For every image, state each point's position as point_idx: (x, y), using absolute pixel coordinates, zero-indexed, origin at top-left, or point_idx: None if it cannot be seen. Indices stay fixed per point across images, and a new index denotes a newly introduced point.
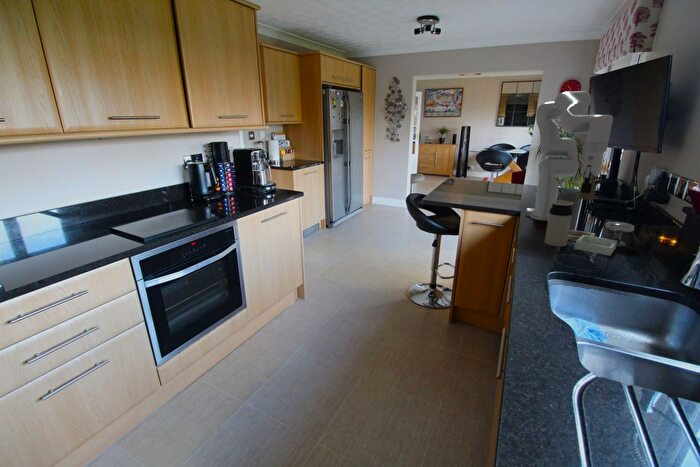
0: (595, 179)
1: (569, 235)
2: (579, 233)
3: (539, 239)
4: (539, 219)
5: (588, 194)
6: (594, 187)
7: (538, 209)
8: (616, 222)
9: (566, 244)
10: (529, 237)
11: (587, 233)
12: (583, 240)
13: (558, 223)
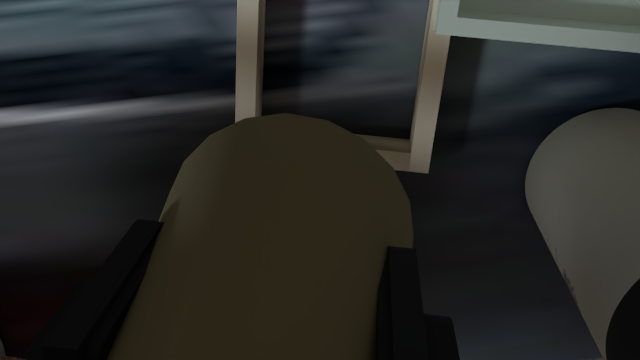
0: None
1: (433, 126)
2: (259, 67)
3: (532, 279)
4: (4, 356)
5: (400, 243)
6: (273, 250)
7: None
8: None
9: (627, 110)
10: (515, 336)
11: (259, 9)
12: (471, 12)
13: None
